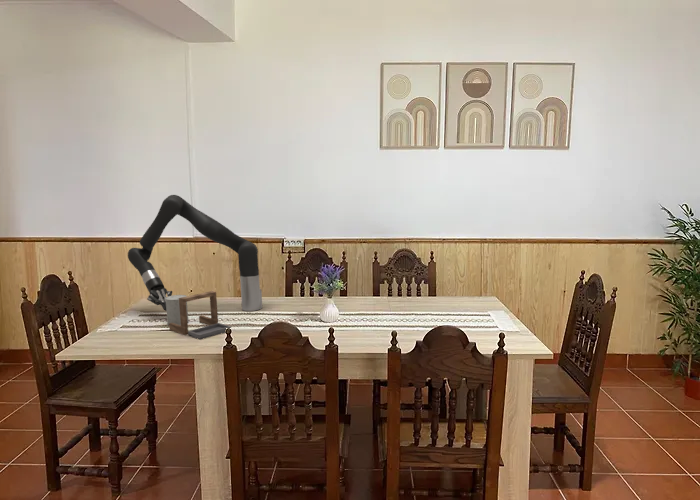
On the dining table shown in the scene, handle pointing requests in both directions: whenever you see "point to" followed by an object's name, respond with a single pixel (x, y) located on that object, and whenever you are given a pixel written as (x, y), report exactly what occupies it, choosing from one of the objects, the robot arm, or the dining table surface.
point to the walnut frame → (202, 319)
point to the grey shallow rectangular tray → (208, 331)
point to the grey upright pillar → (174, 309)
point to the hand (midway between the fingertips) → (167, 310)
